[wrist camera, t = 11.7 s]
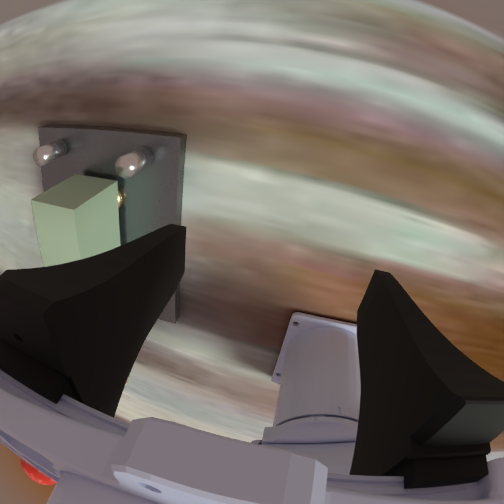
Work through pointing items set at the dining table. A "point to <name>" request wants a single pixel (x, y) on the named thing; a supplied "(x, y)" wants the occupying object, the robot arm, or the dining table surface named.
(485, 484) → the robot arm
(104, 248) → the block
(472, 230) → the dining table surface
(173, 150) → the plate
